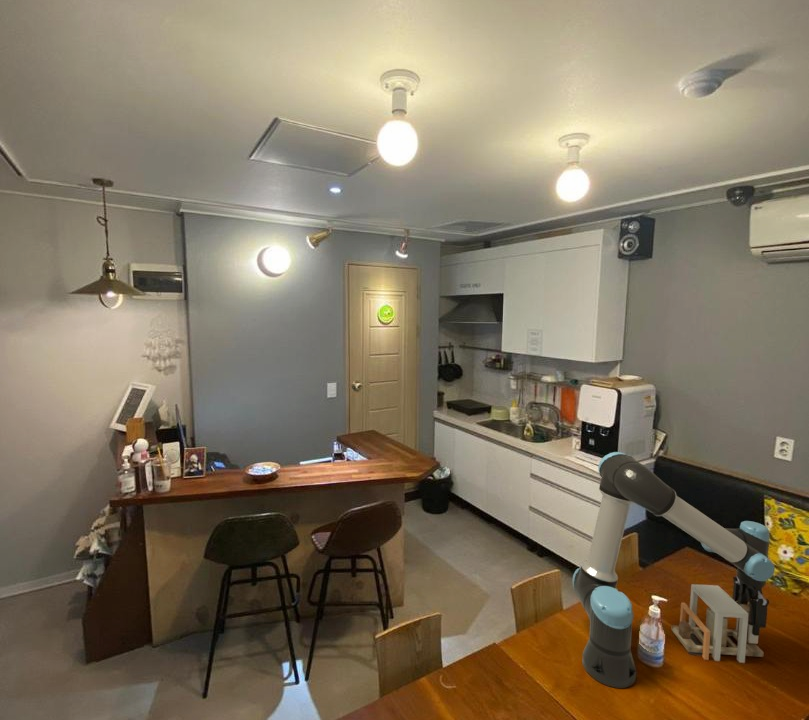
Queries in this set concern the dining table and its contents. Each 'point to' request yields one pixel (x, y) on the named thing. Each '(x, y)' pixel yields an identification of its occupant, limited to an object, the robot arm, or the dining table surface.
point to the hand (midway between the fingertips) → (746, 636)
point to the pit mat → (695, 644)
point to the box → (710, 625)
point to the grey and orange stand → (716, 618)
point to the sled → (684, 637)
